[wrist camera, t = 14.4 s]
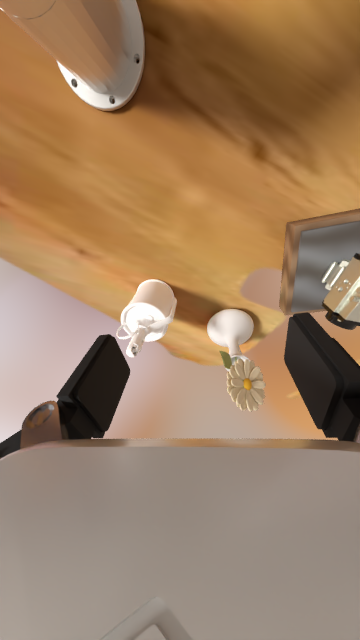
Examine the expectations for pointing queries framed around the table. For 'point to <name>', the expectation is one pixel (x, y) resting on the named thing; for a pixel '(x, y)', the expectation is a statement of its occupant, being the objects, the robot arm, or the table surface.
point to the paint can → (148, 314)
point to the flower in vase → (237, 357)
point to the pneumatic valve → (343, 293)
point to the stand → (315, 258)
